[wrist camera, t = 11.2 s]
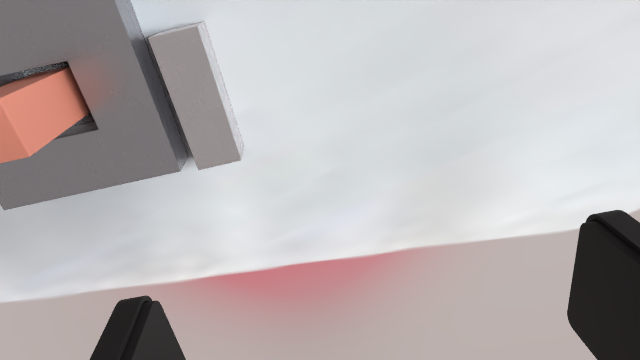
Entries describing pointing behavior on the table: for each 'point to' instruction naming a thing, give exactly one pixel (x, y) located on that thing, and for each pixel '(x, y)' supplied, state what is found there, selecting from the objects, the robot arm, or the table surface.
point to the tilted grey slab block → (198, 94)
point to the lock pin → (38, 111)
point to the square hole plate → (88, 99)
